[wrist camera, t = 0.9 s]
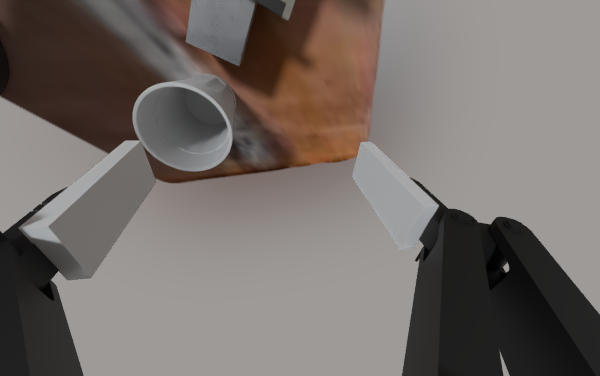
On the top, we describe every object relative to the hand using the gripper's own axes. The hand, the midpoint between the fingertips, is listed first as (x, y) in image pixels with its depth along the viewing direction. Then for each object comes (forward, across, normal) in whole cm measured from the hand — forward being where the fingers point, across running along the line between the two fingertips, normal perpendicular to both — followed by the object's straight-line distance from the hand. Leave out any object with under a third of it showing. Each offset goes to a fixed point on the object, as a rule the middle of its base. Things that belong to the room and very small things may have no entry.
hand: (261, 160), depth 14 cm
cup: (+19, -6, -1) cm, 20 cm away
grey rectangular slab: (+17, -2, +8) cm, 19 cm away
